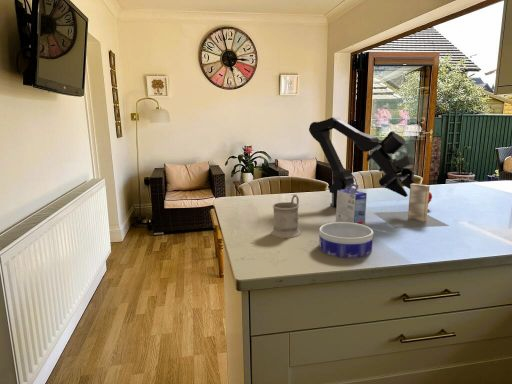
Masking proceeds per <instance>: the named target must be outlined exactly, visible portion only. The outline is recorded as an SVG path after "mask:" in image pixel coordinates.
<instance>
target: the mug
mask: <svg viewBox="0 0 512 384" xmlns="http://www.w3.org/2000/svg"><path fill="white" fill-rule="evenodd" d="M291 196H292V197H291V201H290V202H287V201H286V202H285V201H283V202H277V203H273V204H272V209H273V228H272V230H271V232H270V234H271V236H273V237H276V238H281V239H291V238H297V237H299V236H300V235H301V234H302V232H301V231H300V230H299V206H300V204H299V201H300V200H299V197H298V194H297V193H296V194H295V193H293V194H291ZM295 198H296V203H295V202H294V199H295Z"/></svg>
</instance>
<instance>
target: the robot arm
mask: <svg viewBox="0 0 512 384" xmlns="http://www.w3.org/2000/svg"><path fill="white" fill-rule="evenodd" d="M333 129H335V130H336V131H337V132H339V133H341V134H342V135H343V136H345V137H347V139H350V140H351V141H353V142H354V144H355V145H356V146H357V147H358V148H359V149H360V150H361V151H362V152H365V153H367V152H371V153H367V154H366V162H371V161H373V162H374V163H375V165H377V167H378V168H379V169H378V171H379V172H381V173H383V174H384V175H383V176H382V177H381V178H380V179H379V180H378V184H379V185H380V186H381V188H384V189H388V190H390V191H392V192H395V193H396V194H398V195H400V196H402V197H403V198H406V197H408V196H409V195H408V193H407V192H406V190H405V188H404V187H406V188H407V189H409V190H410V184H416V182H415V179H414V176H415V173H416V170H415V169H414V168H413V167H412V165H415V161H414V160H415V158H414V157H413V156H412V155H410V154H407V155H404V156H403V157H402V158H400V159H396V158H394V159H393V158H392V157H391V156H390V155H395V154H396V153H397V152H398V151H399V150H400V149H401V148H403V146H405V144H406V140H405V138H404V137H402V136H401V135H399V134H398V133H396V132H395V131H390V132H389V133H388V134H387V135H386V136H385V137H384V138H383V140H382V139H379V138H378V137H377V136H375V135H372V134H369V133H365V132H362V131H360V130H358V129H356V128H355V127H353V126H352V125H350V124H348V123H347V122H345V121H343V120H342V119H341V118H340V117H330V118H328V119H324V120H321V121H313V122H312V123H310V125H309V128H308V131H309V133H310V135H311V136H312V138H313V139H314V140H315V141H316V142H317V143H319V146H320V148H321V150H322V152H323V154H324V156H325V159H326V160H327V162H328V165H329V167H330V169H331V171H332V181H333V183H332V184H331V185H330V186H328V187H329V188H328V191H329V193H330V194H331V203H330V205H331V206H332V207H333V208H335V209H336V208H337V190H342V189H349V187H350V186H351V184H355V179H354V178H355V176H354V175H353V173H352V170H351V169H350V168H349V169H346V168H345V167H344V166H343V164H342V161H341V159H340V158H339V155H338V153H337V151H336V149H335V146H334V145H333V143H332V140H331V138H330V136H331V130H333ZM407 166H409V167H407ZM410 166H411V167H410ZM402 185H403V186H402Z"/></svg>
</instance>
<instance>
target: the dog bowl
mask: <svg viewBox="0 0 512 384" xmlns="http://www.w3.org/2000/svg"><path fill="white" fill-rule="evenodd" d="M318 233H319V235H318V237H319V239H318V243H319V245H318V246H319V249H320V251H321V252H322V253H324V254H326V255H329V256H332V257H335V258H343V259H357V258H363V257H367V256H369V255H370V254H372V252H373V244H374V243H373V242H374V231H373V229H372V228H371V227H369V226H367V225H361V224H357V223H349V222H336V221H335V222H328V223H325V224H322V225H321V226H320V227H319V229H318Z"/></svg>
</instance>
